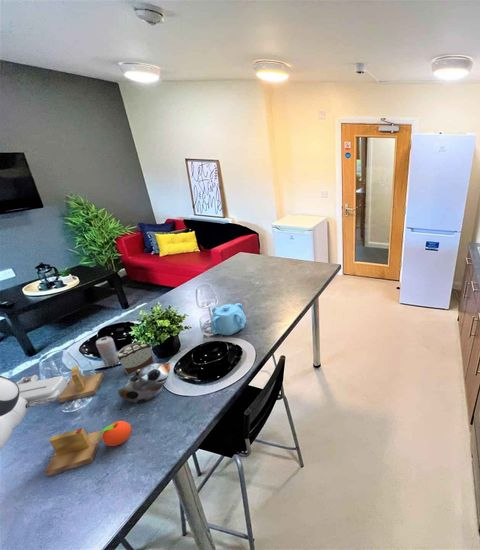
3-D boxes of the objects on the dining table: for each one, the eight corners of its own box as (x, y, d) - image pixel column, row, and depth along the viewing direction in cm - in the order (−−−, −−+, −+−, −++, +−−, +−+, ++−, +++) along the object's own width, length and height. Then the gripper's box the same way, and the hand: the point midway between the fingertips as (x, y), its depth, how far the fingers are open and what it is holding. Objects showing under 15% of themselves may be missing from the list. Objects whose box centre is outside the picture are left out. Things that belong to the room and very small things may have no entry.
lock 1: (58, 456, 85) (49, 440, 82) (60, 451, 86) (51, 435, 83) (89, 447, 88) (80, 432, 85) (90, 442, 89) (83, 427, 86)
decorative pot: (245, 336, 144) (242, 312, 138) (210, 340, 139) (205, 316, 134) (247, 318, 158) (244, 296, 152) (215, 322, 153) (211, 300, 148)
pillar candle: (120, 357, 126) (111, 334, 122) (122, 363, 123) (113, 340, 118) (104, 362, 123) (94, 339, 118) (105, 369, 120) (95, 345, 115)
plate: (57, 403, 104) (55, 398, 103) (69, 383, 112) (67, 379, 111) (97, 393, 108) (95, 389, 107) (105, 375, 116) (104, 371, 115)
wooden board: (44, 477, 81) (41, 472, 80) (60, 446, 90) (57, 441, 89) (95, 461, 86) (92, 456, 85) (106, 433, 94) (103, 428, 93)
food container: (152, 355, 128) (145, 337, 124) (157, 361, 125) (151, 342, 121) (117, 370, 119) (110, 351, 115) (123, 377, 116) (115, 357, 112)
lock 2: (78, 380, 111) (71, 366, 108) (83, 378, 112) (77, 365, 109) (78, 391, 106) (71, 377, 104) (84, 389, 107) (77, 375, 105)
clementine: (100, 457, 87) (91, 441, 84) (104, 438, 92) (96, 423, 89) (133, 444, 91) (126, 429, 88) (135, 427, 96) (128, 412, 93)
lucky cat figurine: (146, 375, 117) (158, 347, 115) (170, 390, 117) (183, 362, 114) (109, 395, 102) (122, 363, 100) (137, 412, 102) (151, 381, 100)
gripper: (50, 392, 81) (71, 361, 92) (-59, 416, 73) (-21, 378, 84) (59, 408, 84) (78, 376, 95) (-45, 433, 75) (-11, 394, 87)
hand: (31, 377), depth 89 cm, fingers closed
